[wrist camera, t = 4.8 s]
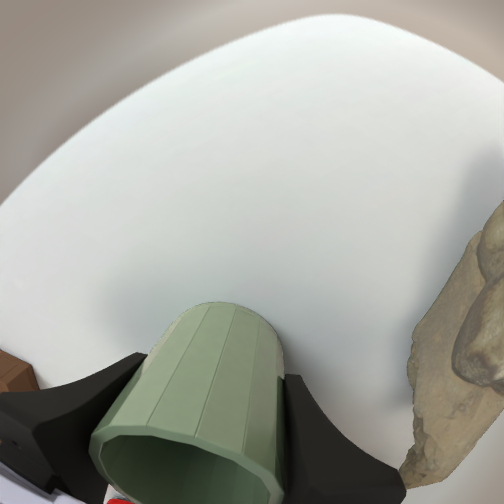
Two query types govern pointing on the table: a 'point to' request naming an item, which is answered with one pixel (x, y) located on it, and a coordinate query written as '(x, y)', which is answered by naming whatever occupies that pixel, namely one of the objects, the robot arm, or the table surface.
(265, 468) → the cup
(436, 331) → the fossil
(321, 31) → the table surface
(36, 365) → the table surface
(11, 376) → the tray
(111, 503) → the soda can
